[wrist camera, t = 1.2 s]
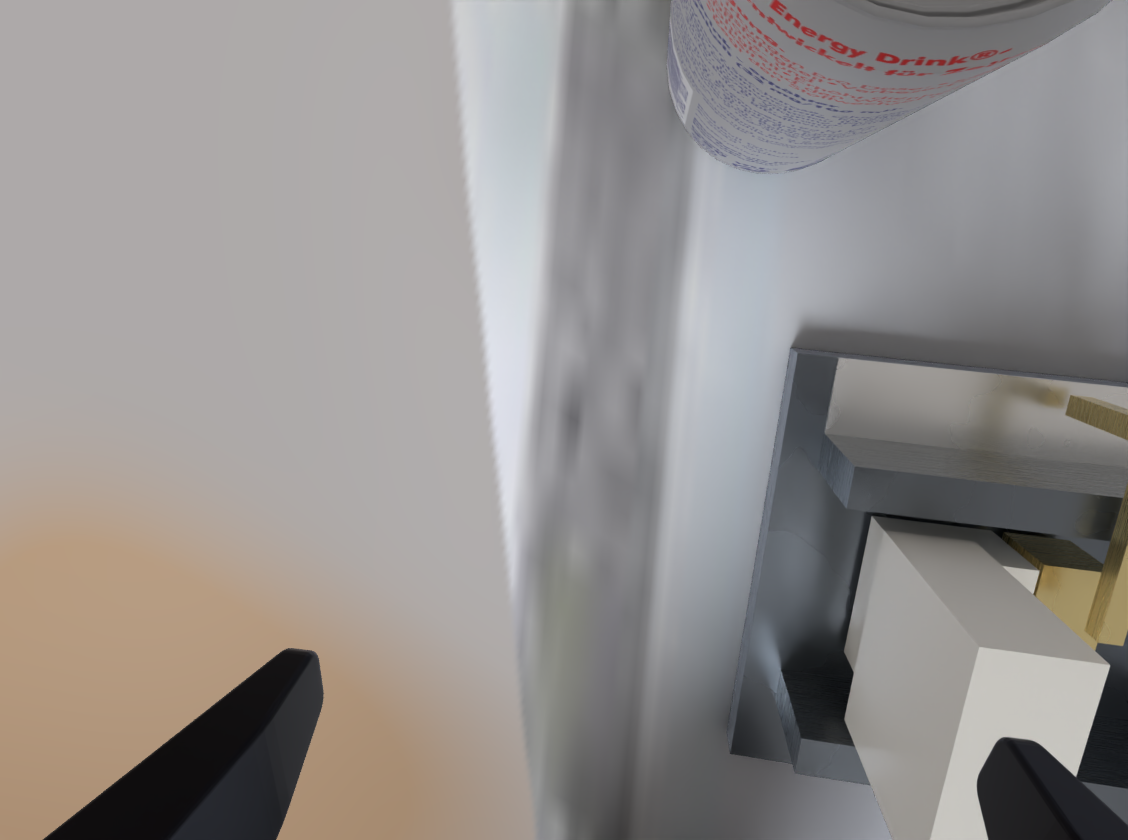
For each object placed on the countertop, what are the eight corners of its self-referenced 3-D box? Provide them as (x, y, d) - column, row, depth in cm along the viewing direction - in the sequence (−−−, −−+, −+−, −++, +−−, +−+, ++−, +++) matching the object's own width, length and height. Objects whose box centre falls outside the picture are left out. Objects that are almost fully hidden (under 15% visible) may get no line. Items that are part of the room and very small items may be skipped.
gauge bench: (1213, 807, 21) (1427, 1021, 15) (726, 732, 22) (752, 901, 17) (1360, 406, 18) (1692, 481, 12) (790, 347, 19) (848, 390, 14)
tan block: (1031, 678, 19) (1112, 770, 16) (968, 669, 20) (1036, 758, 16) (1112, 387, 17) (1224, 421, 14) (1042, 379, 18) (1136, 412, 14)
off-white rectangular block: (953, 683, 20) (1124, 932, 13) (822, 664, 20) (915, 895, 13) (996, 512, 18) (1210, 679, 11) (855, 495, 19) (979, 647, 12)
